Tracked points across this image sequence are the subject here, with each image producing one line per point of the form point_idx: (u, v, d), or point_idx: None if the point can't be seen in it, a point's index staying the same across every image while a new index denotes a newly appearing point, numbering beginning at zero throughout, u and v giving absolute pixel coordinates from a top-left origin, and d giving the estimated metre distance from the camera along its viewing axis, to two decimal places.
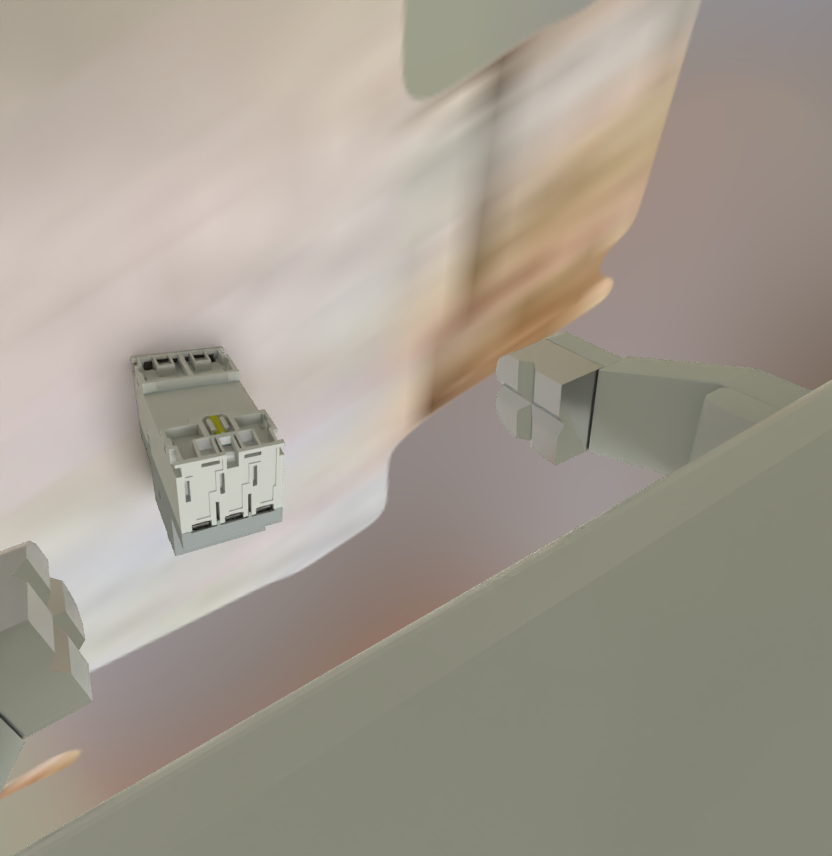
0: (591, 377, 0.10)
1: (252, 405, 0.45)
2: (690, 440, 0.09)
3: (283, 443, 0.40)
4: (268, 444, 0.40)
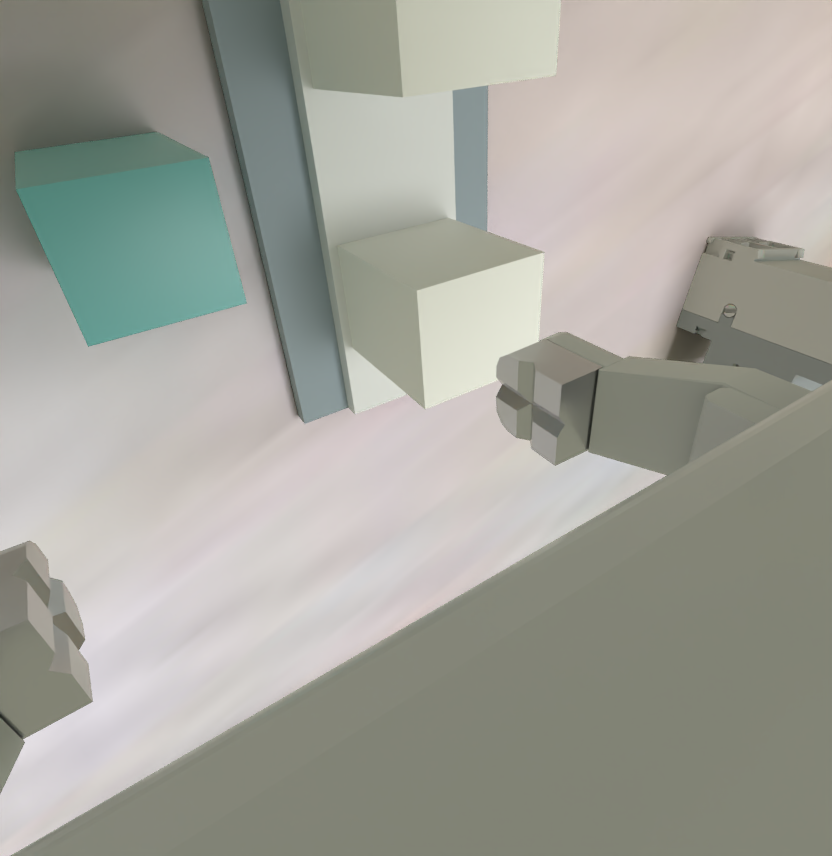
0: (591, 377, 0.10)
1: None
2: (690, 440, 0.09)
3: None
4: None
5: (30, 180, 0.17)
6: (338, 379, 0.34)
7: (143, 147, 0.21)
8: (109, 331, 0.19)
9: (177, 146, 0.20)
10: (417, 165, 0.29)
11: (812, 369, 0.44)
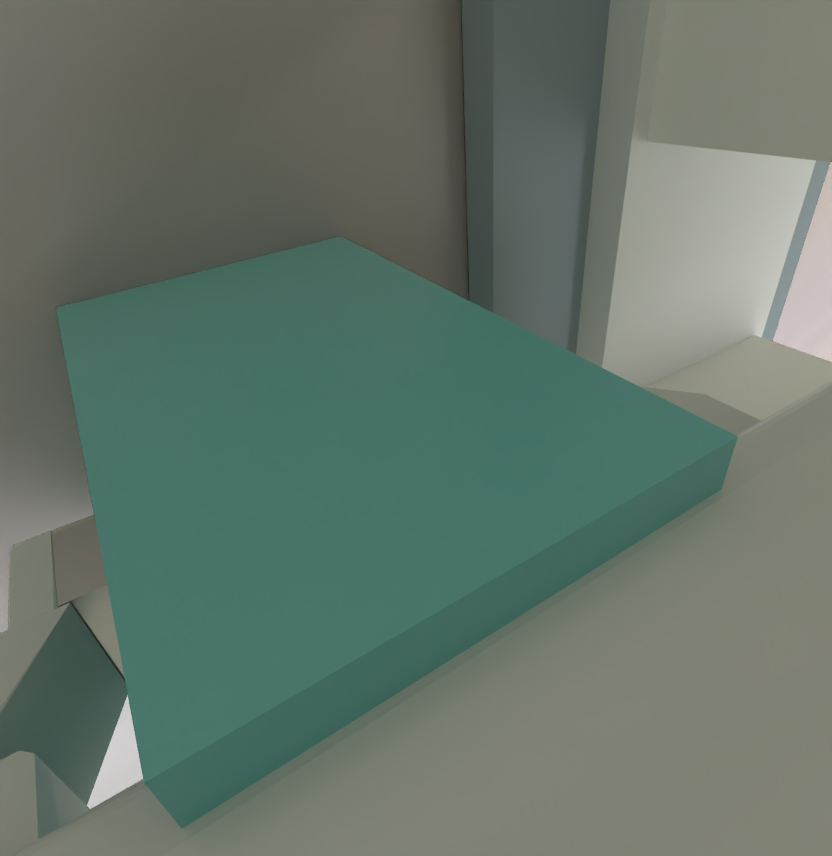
0: None
1: None
2: None
3: None
4: None
5: (172, 611, 0.04)
6: None
7: (388, 318, 0.08)
8: None
9: (489, 323, 0.08)
10: (744, 261, 0.17)
11: None
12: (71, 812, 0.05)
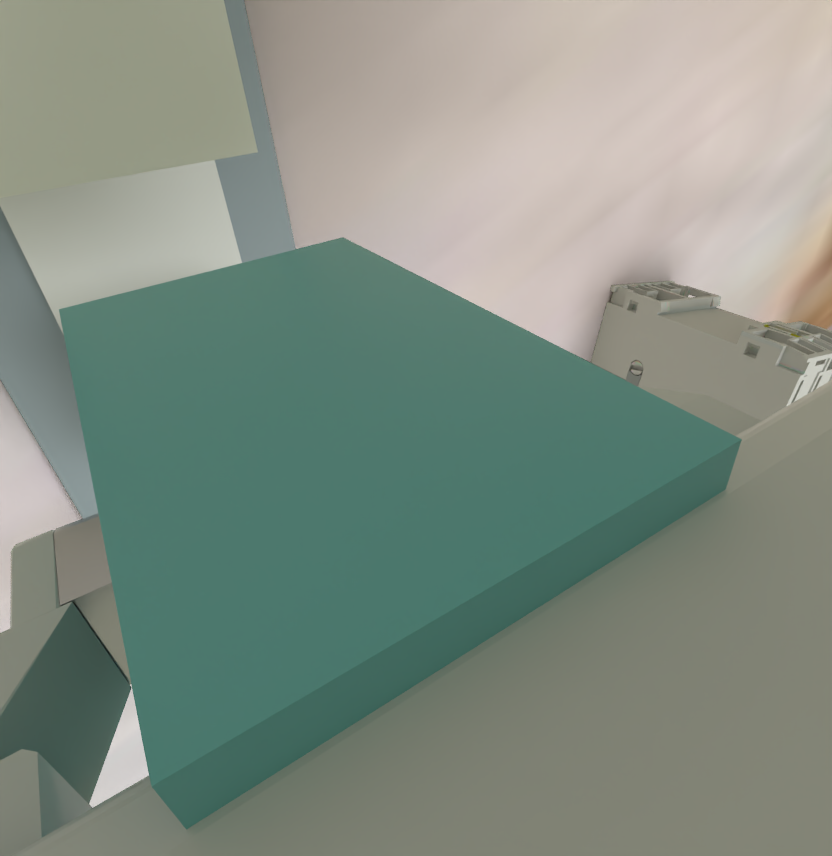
0: None
1: None
2: None
3: None
4: None
5: (178, 614, 0.04)
6: None
7: (391, 320, 0.08)
8: None
9: (492, 325, 0.08)
10: (180, 242, 0.24)
11: None
12: (74, 811, 0.05)
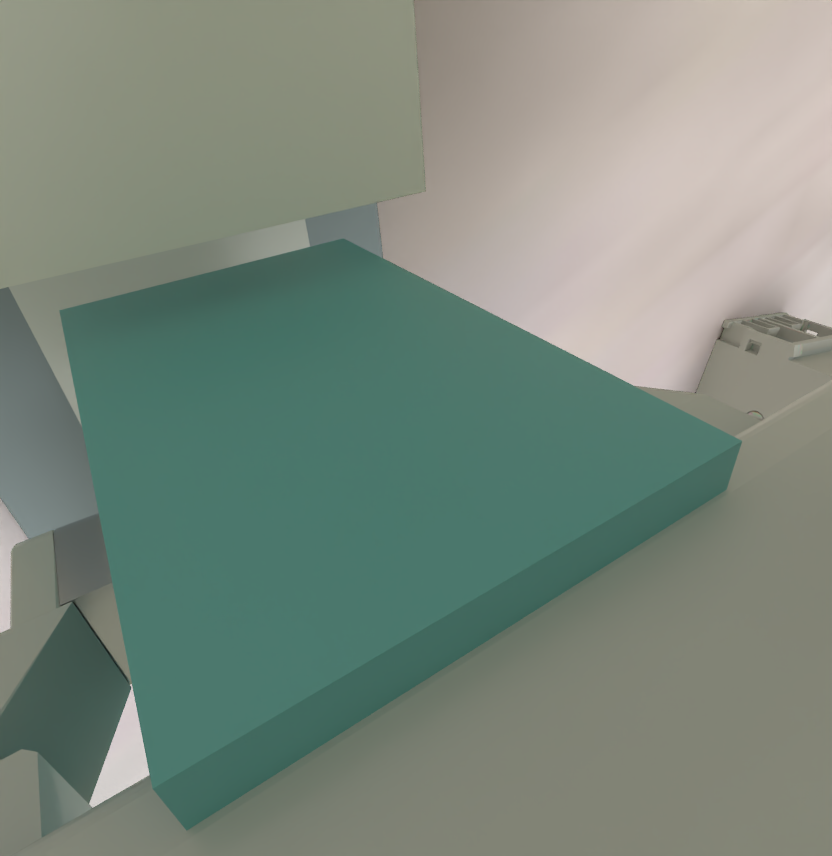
0: None
1: None
2: None
3: None
4: None
5: (179, 616, 0.04)
6: None
7: (391, 321, 0.08)
8: None
9: (493, 326, 0.08)
10: None
11: None
12: (74, 811, 0.05)
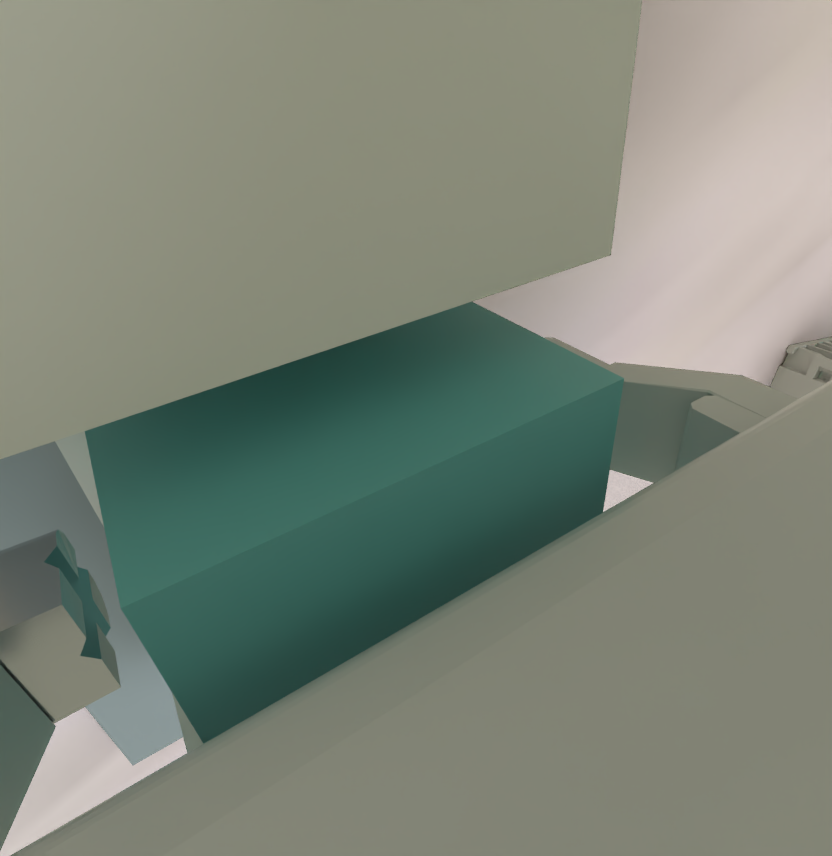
0: None
1: None
2: (676, 447, 0.09)
3: None
4: None
5: (148, 503, 0.05)
6: None
7: None
8: None
9: None
10: None
11: None
12: None
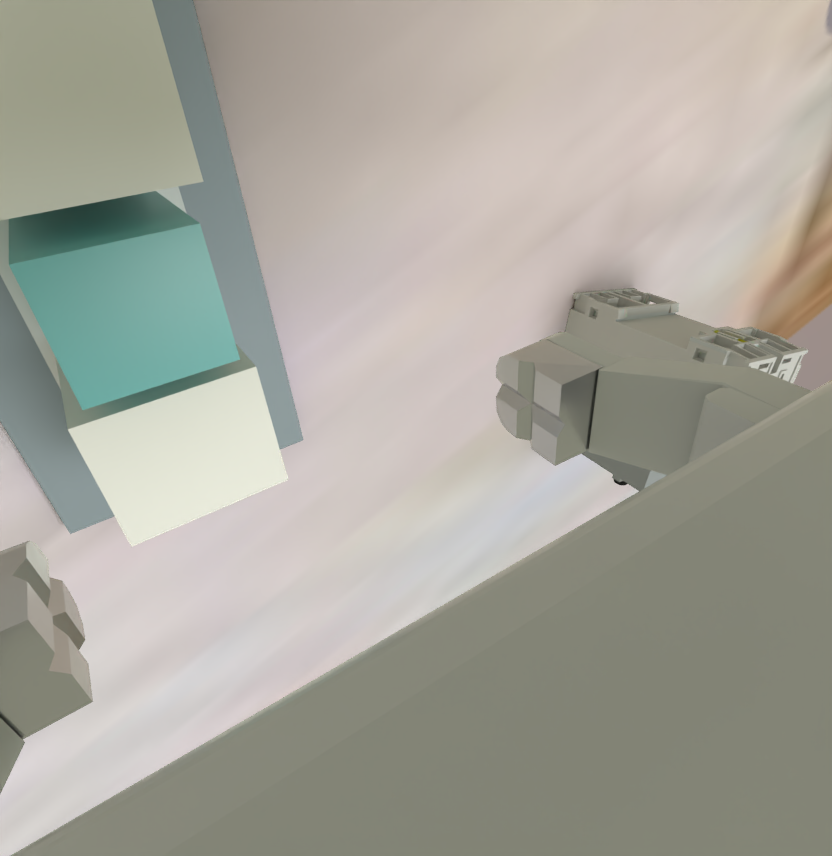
0: (591, 377, 0.10)
1: None
2: (690, 440, 0.09)
3: (807, 350, 0.38)
4: (797, 350, 0.38)
5: (23, 252, 0.17)
6: None
7: (136, 208, 0.21)
8: (103, 395, 0.19)
9: (169, 207, 0.21)
10: None
11: None
12: None
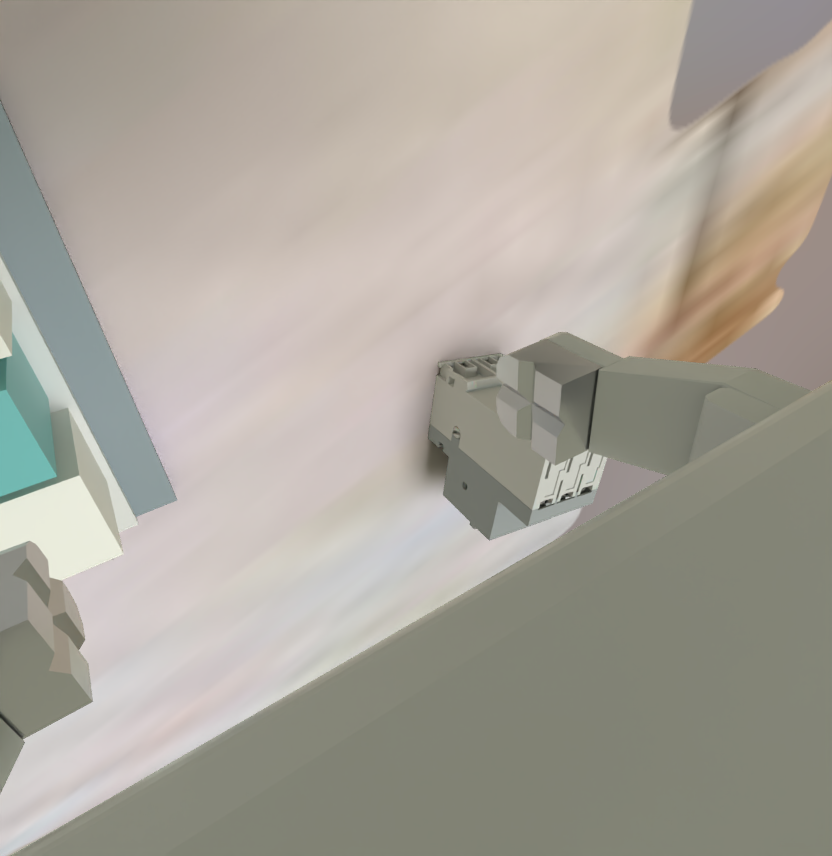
0: (591, 377, 0.10)
1: None
2: (690, 440, 0.09)
3: None
4: None
5: None
6: None
7: None
8: None
9: (0, 360, 0.27)
10: None
11: (507, 499, 0.46)
12: None
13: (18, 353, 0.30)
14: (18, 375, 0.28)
